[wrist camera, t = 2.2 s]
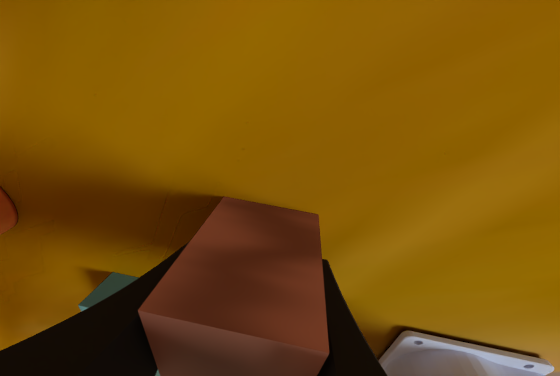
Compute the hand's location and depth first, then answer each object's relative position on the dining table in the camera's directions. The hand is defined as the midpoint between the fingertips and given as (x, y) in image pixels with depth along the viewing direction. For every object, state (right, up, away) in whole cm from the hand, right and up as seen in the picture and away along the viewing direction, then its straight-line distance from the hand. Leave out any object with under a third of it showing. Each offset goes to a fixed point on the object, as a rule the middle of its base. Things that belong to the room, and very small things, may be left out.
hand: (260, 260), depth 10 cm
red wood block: (0, +1, +1) cm, 2 cm away
